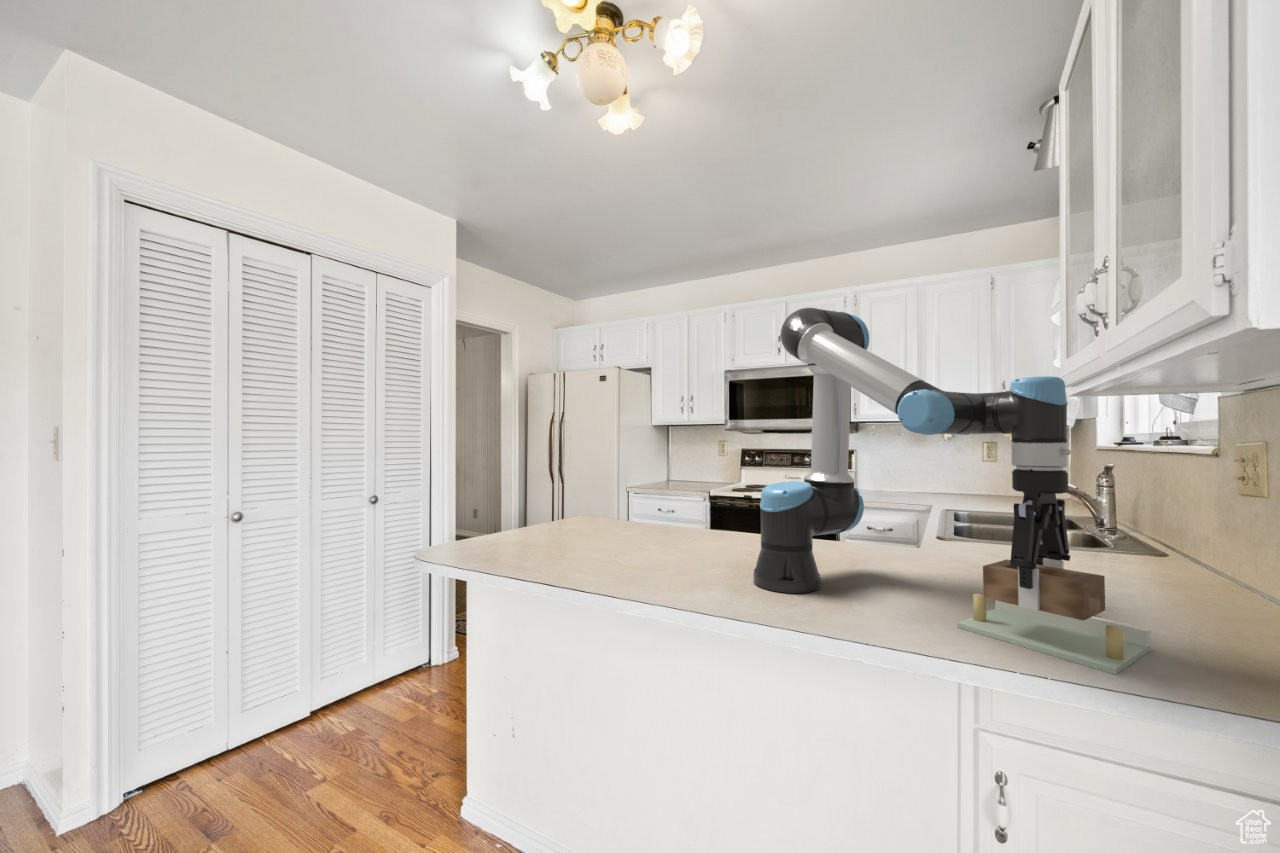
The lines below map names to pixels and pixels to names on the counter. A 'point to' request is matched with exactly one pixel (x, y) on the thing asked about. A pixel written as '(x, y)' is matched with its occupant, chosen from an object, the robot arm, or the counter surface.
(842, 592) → the counter surface
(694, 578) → the counter surface
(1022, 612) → the wall board
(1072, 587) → the wooden box
